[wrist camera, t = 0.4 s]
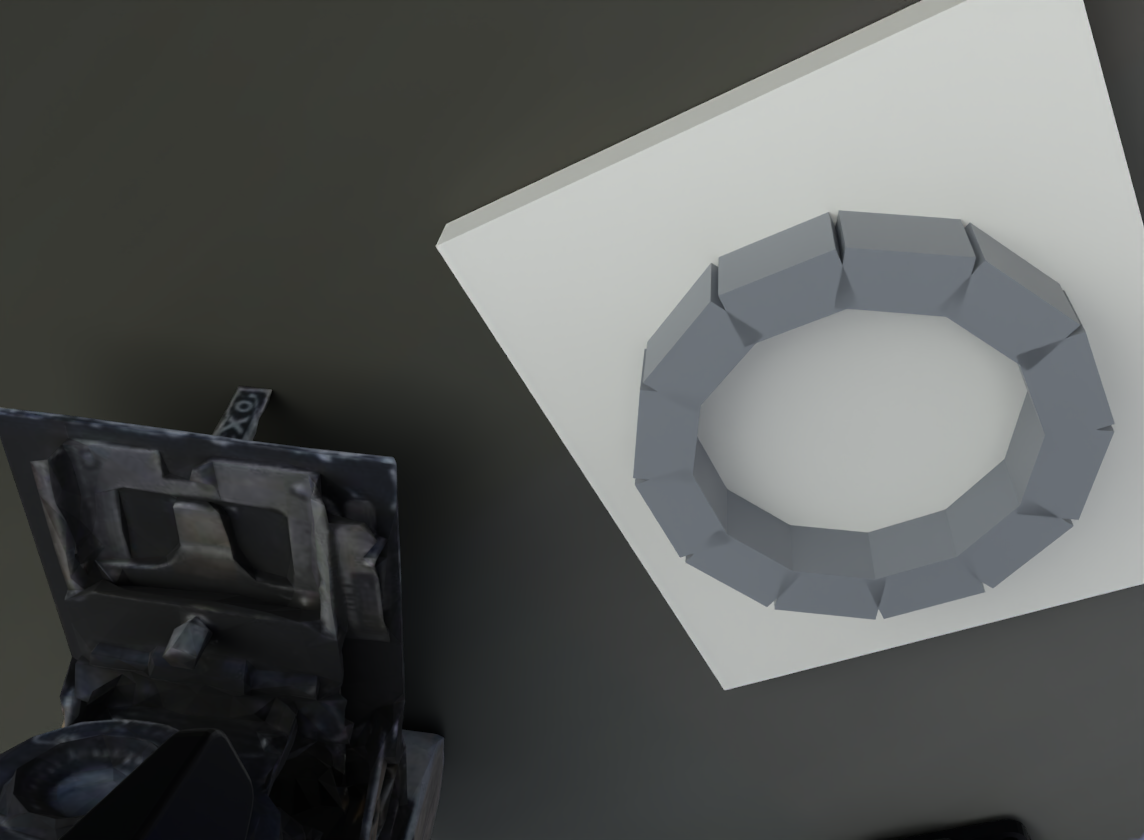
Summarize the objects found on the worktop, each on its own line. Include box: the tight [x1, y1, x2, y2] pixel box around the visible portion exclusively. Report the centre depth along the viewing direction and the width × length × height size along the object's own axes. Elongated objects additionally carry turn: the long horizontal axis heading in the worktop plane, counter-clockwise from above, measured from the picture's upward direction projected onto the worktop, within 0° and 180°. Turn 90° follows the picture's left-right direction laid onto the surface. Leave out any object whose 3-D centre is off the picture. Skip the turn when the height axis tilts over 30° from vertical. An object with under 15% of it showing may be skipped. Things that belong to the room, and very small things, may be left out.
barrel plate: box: [436, 0, 1144, 690], centre depth 22 cm, size 14×12×2 cm
